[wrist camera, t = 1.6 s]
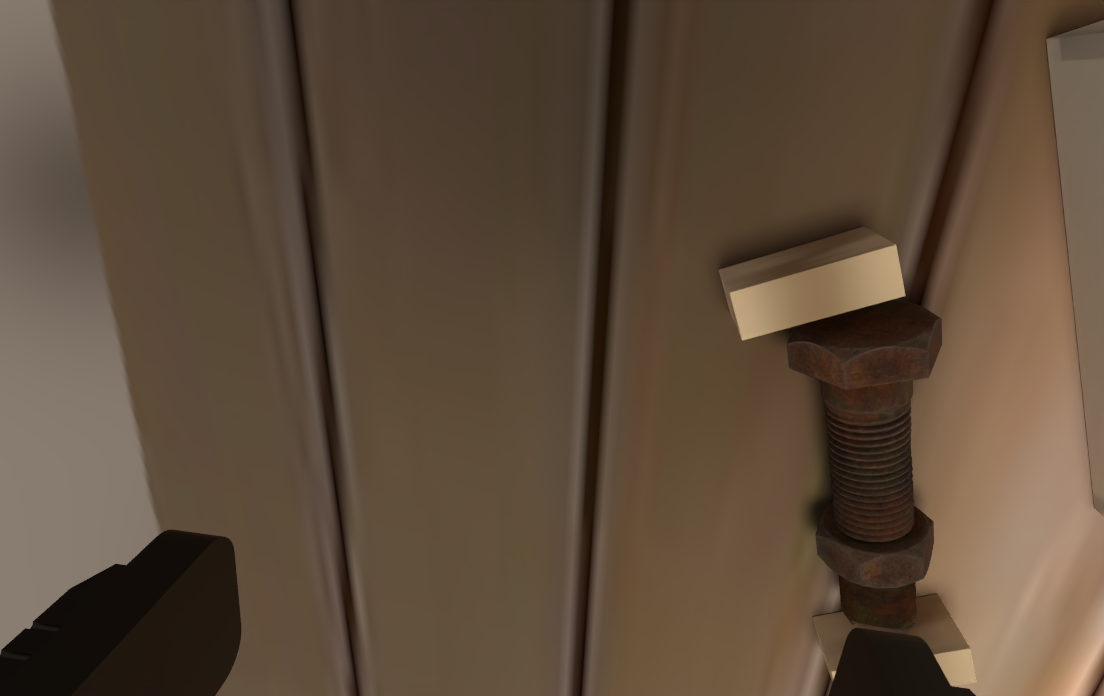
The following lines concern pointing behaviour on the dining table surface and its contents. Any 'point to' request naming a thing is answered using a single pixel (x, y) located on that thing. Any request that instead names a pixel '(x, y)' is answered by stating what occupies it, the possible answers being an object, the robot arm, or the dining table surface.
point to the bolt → (872, 454)
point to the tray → (1084, 212)
